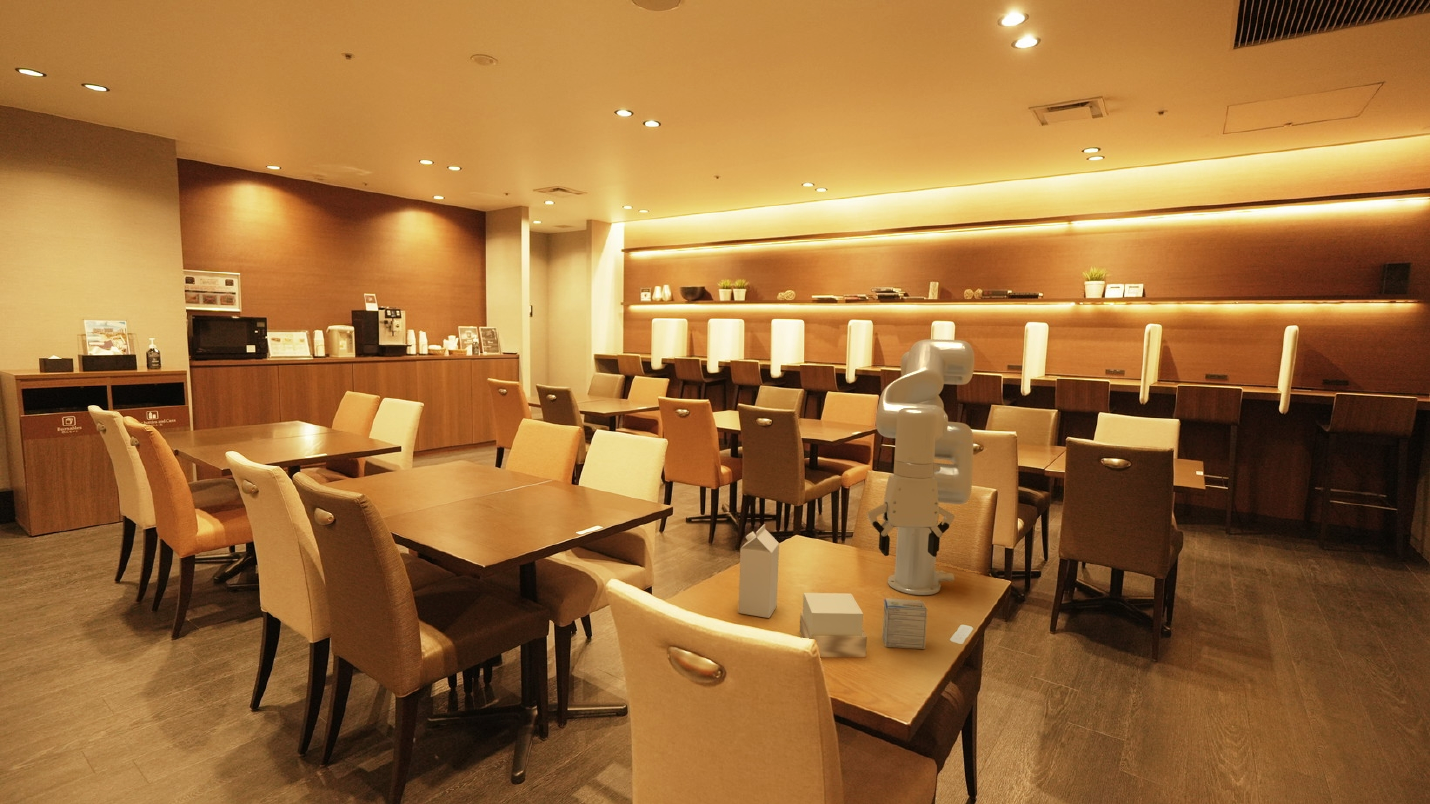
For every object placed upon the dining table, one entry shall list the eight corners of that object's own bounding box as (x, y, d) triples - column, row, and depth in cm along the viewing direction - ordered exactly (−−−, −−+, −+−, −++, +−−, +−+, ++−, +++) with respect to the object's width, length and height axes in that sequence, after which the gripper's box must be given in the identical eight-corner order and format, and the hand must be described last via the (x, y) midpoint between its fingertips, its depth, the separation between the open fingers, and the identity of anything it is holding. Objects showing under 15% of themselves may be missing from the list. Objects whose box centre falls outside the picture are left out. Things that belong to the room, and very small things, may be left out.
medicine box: (920, 640, 138) (923, 599, 137) (925, 650, 134) (928, 608, 133) (881, 637, 139) (884, 597, 138) (885, 647, 134) (887, 606, 133)
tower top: (850, 614, 140) (851, 593, 140) (862, 635, 130) (863, 613, 130) (802, 613, 140) (803, 592, 139) (811, 635, 130) (812, 613, 129)
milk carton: (776, 606, 153) (780, 525, 151) (769, 619, 146) (772, 534, 144) (747, 601, 155) (749, 522, 153) (738, 613, 148) (740, 530, 146)
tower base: (851, 633, 141) (852, 612, 141) (865, 658, 130) (866, 636, 130) (799, 633, 141) (800, 612, 140) (809, 658, 130) (810, 636, 129)
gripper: (948, 467, 136) (943, 549, 138) (865, 465, 136) (860, 547, 137) (964, 474, 129) (958, 561, 130) (875, 472, 128) (871, 559, 130)
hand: (908, 554), depth 134 cm, fingers open, 9 cm apart
